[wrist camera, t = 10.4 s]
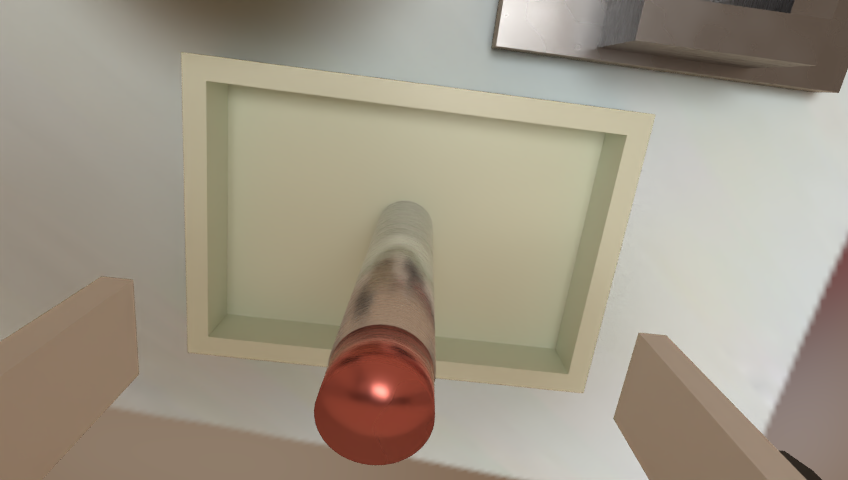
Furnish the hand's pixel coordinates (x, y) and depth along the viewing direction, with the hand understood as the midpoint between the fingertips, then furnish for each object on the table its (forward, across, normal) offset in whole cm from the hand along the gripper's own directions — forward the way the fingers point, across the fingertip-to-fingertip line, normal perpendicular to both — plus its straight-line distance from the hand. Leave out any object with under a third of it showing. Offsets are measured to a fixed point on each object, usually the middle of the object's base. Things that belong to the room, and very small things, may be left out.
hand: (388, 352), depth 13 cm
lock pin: (+13, 0, 0) cm, 13 cm away
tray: (+14, 0, 0) cm, 14 cm away
